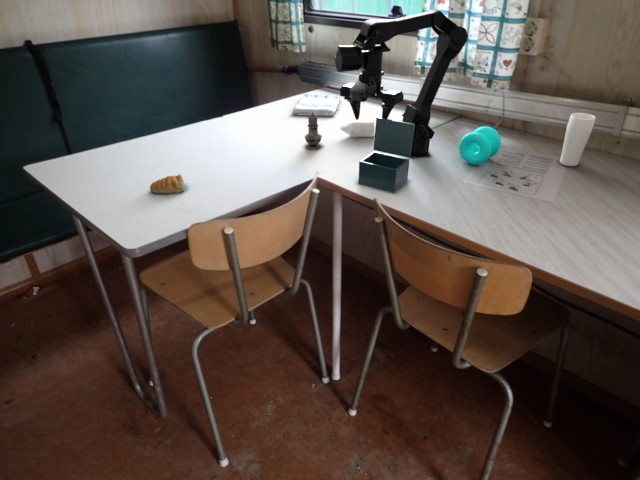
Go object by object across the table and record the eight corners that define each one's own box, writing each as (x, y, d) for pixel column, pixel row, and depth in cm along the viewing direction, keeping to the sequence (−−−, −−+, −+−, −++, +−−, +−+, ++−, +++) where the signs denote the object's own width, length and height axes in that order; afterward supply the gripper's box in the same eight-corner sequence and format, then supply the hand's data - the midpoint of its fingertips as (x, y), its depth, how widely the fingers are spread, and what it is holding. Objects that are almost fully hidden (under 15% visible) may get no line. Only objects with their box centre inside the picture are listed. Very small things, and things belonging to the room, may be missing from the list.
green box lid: (414, 124, 124) (415, 123, 125) (376, 117, 129) (377, 117, 130) (409, 157, 129) (410, 157, 129) (373, 150, 134) (374, 149, 134)
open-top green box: (394, 193, 127) (396, 170, 123) (358, 183, 132) (359, 161, 128) (407, 181, 133) (409, 159, 129) (372, 172, 138) (373, 151, 134)
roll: (339, 133, 167) (339, 118, 164) (372, 133, 167) (373, 118, 164) (340, 139, 162) (340, 123, 159) (374, 139, 162) (374, 123, 159)
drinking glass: (580, 161, 143) (595, 114, 135) (580, 169, 138) (596, 120, 130) (556, 157, 146) (570, 111, 138) (556, 166, 141) (570, 117, 132)
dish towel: (291, 115, 185) (291, 108, 183) (302, 98, 204) (302, 92, 203) (333, 117, 182) (333, 110, 181) (341, 99, 202) (341, 93, 200)
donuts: (455, 161, 145) (459, 130, 139) (470, 151, 151) (475, 122, 145) (484, 169, 139) (490, 138, 133) (499, 159, 145) (505, 129, 140)
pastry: (151, 197, 126) (148, 184, 124) (150, 187, 132) (147, 175, 130) (186, 192, 129) (183, 179, 127) (184, 182, 134) (181, 170, 132)
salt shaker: (320, 150, 153) (319, 115, 147) (303, 149, 154) (301, 114, 148) (323, 144, 158) (323, 109, 152) (306, 143, 159) (305, 108, 153)
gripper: (329, 70, 130) (329, 124, 139) (386, 79, 121) (383, 136, 129) (350, 63, 138) (349, 114, 146) (406, 70, 128) (402, 124, 137)
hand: (370, 122), depth 139 cm, fingers open, 9 cm apart
